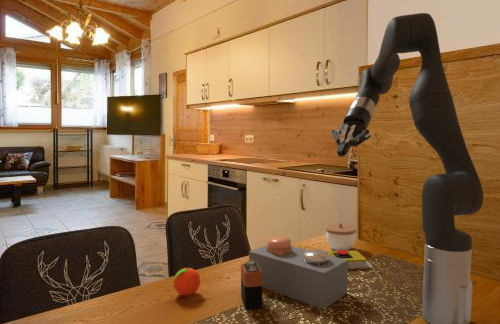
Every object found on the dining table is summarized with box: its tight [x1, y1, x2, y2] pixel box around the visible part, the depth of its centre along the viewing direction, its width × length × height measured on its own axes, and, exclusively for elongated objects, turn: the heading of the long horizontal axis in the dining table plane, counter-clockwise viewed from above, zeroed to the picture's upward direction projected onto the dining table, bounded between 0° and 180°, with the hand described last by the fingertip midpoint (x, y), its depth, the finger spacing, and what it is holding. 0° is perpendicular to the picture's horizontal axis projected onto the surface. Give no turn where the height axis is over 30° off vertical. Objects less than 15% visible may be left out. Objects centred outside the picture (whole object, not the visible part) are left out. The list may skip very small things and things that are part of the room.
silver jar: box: [302, 248, 329, 266], centre depth 98 cm, size 6×6×9 cm
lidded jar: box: [325, 222, 357, 251], centre depth 136 cm, size 11×11×9 cm
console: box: [248, 244, 349, 310], centre depth 102 cm, size 24×12×9 cm, turn 48°
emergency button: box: [326, 250, 374, 270], centre depth 121 cm, size 9×4×15 cm
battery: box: [240, 260, 263, 310], centre depth 93 cm, size 4×7×10 cm, turn 10°
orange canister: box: [267, 236, 292, 255], centre depth 106 cm, size 6×6×9 cm
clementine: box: [172, 267, 201, 296], centre depth 98 cm, size 8×7×7 cm
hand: (340, 154), depth 111 cm, fingers closed
